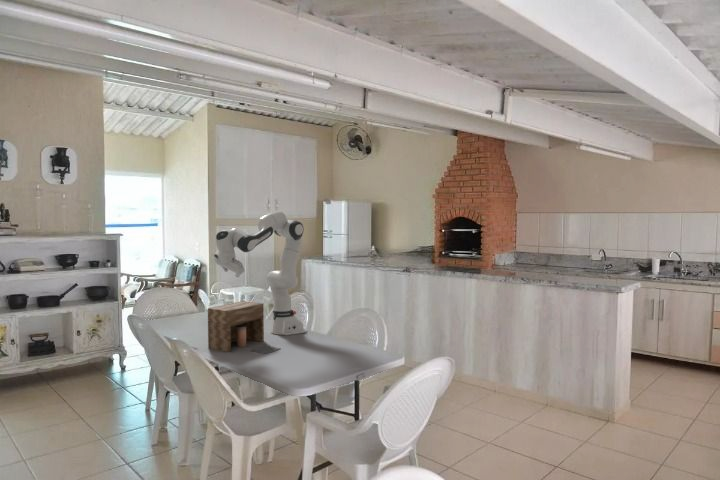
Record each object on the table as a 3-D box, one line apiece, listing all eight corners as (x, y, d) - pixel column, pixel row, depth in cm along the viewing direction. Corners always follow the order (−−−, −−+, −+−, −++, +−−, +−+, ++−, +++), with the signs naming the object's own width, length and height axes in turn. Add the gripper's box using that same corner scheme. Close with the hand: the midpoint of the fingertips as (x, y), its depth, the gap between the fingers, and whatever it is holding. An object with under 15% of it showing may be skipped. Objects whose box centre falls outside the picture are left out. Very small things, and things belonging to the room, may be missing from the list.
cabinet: (263, 341, 305) (263, 303, 303) (228, 352, 281) (228, 311, 280) (243, 337, 313) (243, 300, 312) (208, 348, 289) (207, 308, 288)
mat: (281, 348, 288) (281, 348, 288) (266, 354, 277) (266, 353, 277) (264, 345, 294) (264, 345, 294) (250, 350, 284) (250, 350, 284)
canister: (245, 343, 298) (245, 325, 298) (247, 346, 294) (247, 327, 293) (236, 344, 296) (236, 325, 296) (238, 347, 291) (237, 327, 291)
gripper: (244, 258, 294) (248, 276, 303) (218, 247, 303) (223, 265, 312) (236, 265, 290) (241, 283, 299) (211, 253, 299) (216, 271, 308)
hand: (232, 273), depth 305 cm, fingers open, 8 cm apart
